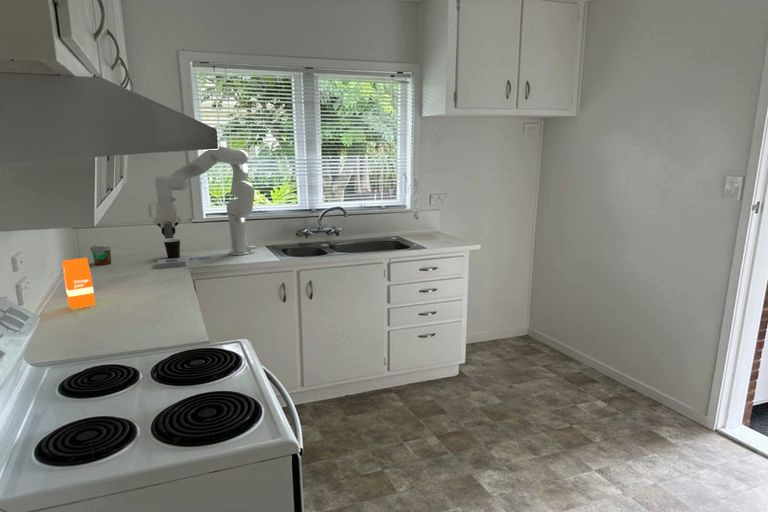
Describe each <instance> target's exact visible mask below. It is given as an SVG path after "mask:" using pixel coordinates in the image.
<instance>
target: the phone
mask: <svg viewBox="0 0 768 512" xmlns="http://www.w3.org/2000/svg"><path fill="white" fill-rule="evenodd" d="M206 258H209V259H212V256H211V255H203V256H191V257H190V260H191V261H194V260H193V259H198V260H207V259H206Z"/></svg>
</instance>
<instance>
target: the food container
mask: <svg viewBox="0 0 768 512" xmlns="http://www.w3.org/2000/svg"><path fill="white" fill-rule="evenodd" d="M89 248H90V249H89V252H91V255H92V257H93V262H94V265H95V266H108V265H111V264H112V256H111V255H112V253H111V251H112V249H111V248H112V247H111V246H110V245H108V246H96V244H94V245H91V246H90V247H89Z"/></svg>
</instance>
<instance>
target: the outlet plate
mask: <svg viewBox="0 0 768 512" xmlns="http://www.w3.org/2000/svg"><path fill="white" fill-rule="evenodd" d="M186 263H187V261H186V257H179V258H174V259H168V258H165V259H157V262H156V268H157V269H167V268H176V267H177V268H179V267H186V266H187V264H186ZM185 265H186V266H185ZM178 266H179V267H178Z"/></svg>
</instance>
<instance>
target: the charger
mask: <svg viewBox="0 0 768 512" xmlns="http://www.w3.org/2000/svg"><path fill="white" fill-rule="evenodd" d="M163 226H164V234H165V236H164V239H165V240H169V239H174V235H173V231H172V226H173V225H172V222H164V224H163Z"/></svg>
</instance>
